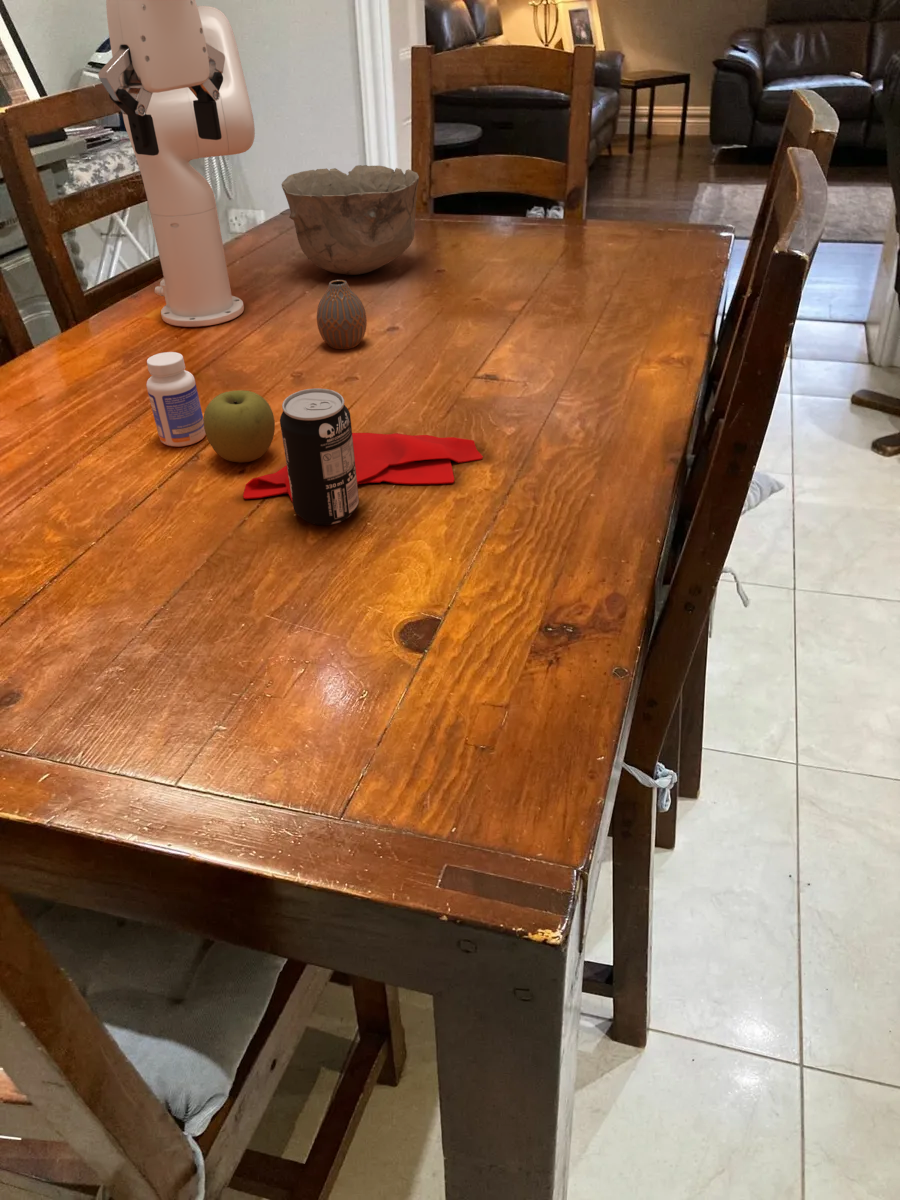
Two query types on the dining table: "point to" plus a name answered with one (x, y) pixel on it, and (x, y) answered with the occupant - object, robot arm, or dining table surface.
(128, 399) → the dining table surface
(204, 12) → the robot arm
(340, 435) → the beverage can
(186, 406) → the pill bottle
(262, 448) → the apple
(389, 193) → the bowl
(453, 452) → the cloth
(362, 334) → the vase
